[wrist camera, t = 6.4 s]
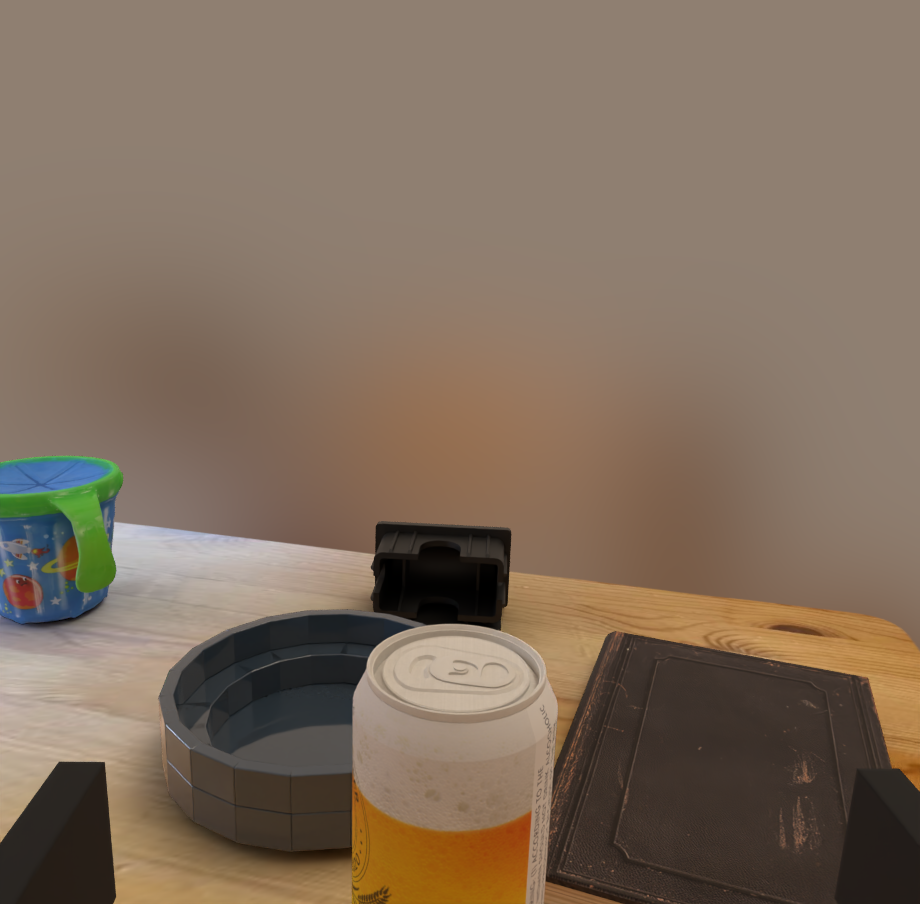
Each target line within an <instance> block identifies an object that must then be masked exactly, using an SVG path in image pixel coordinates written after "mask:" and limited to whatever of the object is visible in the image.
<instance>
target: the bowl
mask: <svg viewBox="0 0 920 904" xmlns="http://www.w3.org/2000/svg"><path fill="white" fill-rule="evenodd" d="M422 626H427V625H425V624H423V623H419V622H416V621H412V620H409V619H405V618H401V617H398V616H394V615H391V614H385V613H376V612H367V611H358V610H348V609H342V610H307V611H300V612H294V613H288V614H282V615H276V616H270V617H265V618H262V619H259V620H256V621H252V622H249V623H246V624H243V625H240V626H237V627H234V628H231V629H228V630H225V631H223V632H222V633H220V634H218V635H216V636H214V637H212V638H211V639H209V640H207V641H205V642H203V643H201V644H200V645H198V646H196V647H194V648H192V649H191V650H190V651H189V652H188V653H187V654H186V655H185V656H184V657H183V658H182V659H181V660H180V661H179V662H178V663H177V664H176V665H175V666H174V667H172V668H171V669H170V671H169V673H168V675H167V678H166V680H165V683H164V685H163V688H162V690H161V693H160V695H159V698H158V700H159V716H160V731H161V747H162V763H163V769H164V773H165V778H166V783H167V788H168V792H169V795H170V796H171V798H172V799H173V800H174V801H175V802H176V803H177V804H178V805H179V806H180V808H181V809H182V810H183V811H184V812H185V813H186V814H187V815H188V816H189V818H190V819H191V820H192V821H193V822H195V823H196V824H199V825H201V826H203V827H205V828H207V829H209V830H211V831H213V832H215V833H217V834H219V835H222V836H224V837H226V838H228V839H230V840H232V841H234V842H237V843H240V844H246V845H252V846H258V847H264V848H270V849H276V850H282V851H288V852H292V851H294V852H295V851H310V850H324V849H339V848H350V846H351V847H352V755H353V695H354V692H355V690H356V687H357V685H358V683H359V682H360V680H361V678H362V676H363V674H364V672H365V670H366V668H367V661H368V658H369V656H370V654H371V652H372V651H373V650H374V649H375V648H376V647H377V646H378V645H379V644H380V643H381V642H383V641H384V640H386V639H387V638H389V637H391V636H393V635H395V634H398V633H400V632H403V631H406V630H409V629H413V628H417V627H422Z"/></svg>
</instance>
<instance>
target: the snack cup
mask: <svg viewBox="0 0 920 904" xmlns="http://www.w3.org/2000/svg"><path fill="white" fill-rule="evenodd" d="M122 483H123V474H122V472H121V471H120V470H119V467H118V466H117V465H116V464H115V463H113V462H111V461H108V460H104V459H100V458H93V457H83V456H47V457H34V458H25V459H18V460H11V461H5V462H0V615H2V616H3V617H5V618H8V619H12V620H13V621H15V622H18V623H20V624H25V623H38V622H49V621H57V620H62V619H66V618H70V617H72V618H75V617H77V616H79V615H81V614H82V613H83V612H85V611H88V610H90V609H92V608H93V607H95V606H96V605H97V604H99V603H100V602H101V601H102V600H103V598H104V597H107V592H108V587H109V584H110V583H111V582H112V581H113V580H114V578H115V574H116V565H115V561H114V558H113V555H112V539H113V528H114V515H115V499H116V496H117V494H118V492H119V490H120V488H121V486H122Z"/></svg>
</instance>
